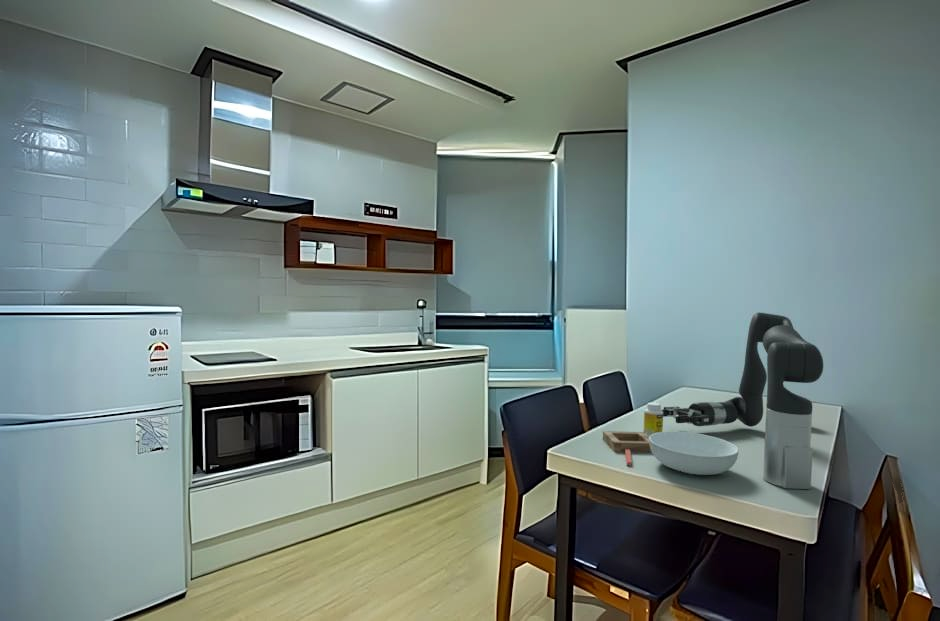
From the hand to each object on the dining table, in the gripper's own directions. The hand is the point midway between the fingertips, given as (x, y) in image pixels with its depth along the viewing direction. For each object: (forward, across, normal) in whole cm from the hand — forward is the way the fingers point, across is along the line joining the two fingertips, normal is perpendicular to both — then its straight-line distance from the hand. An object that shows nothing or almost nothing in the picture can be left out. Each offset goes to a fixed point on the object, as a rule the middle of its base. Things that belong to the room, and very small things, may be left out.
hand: (666, 416), depth 161 cm
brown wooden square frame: (+19, +7, +6) cm, 21 cm away
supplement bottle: (+5, 0, +6) cm, 8 cm away
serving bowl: (+16, +28, +6) cm, 33 cm away
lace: (+27, +17, +6) cm, 33 cm away
